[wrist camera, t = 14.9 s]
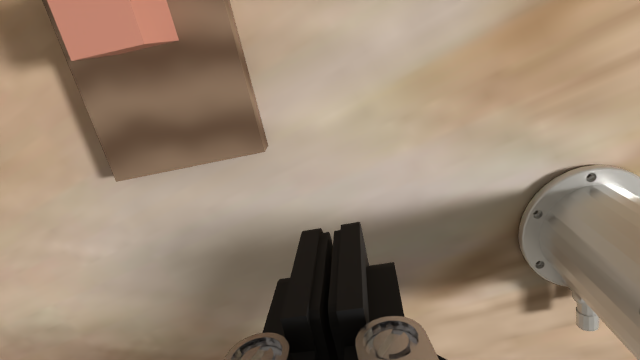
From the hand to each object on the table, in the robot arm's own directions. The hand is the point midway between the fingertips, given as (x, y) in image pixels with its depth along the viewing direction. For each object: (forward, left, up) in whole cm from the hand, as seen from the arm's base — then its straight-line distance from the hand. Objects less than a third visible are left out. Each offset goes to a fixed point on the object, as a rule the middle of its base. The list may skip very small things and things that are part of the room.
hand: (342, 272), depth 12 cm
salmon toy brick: (+11, +14, -25) cm, 30 cm away
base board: (+7, +14, -27) cm, 31 cm away
